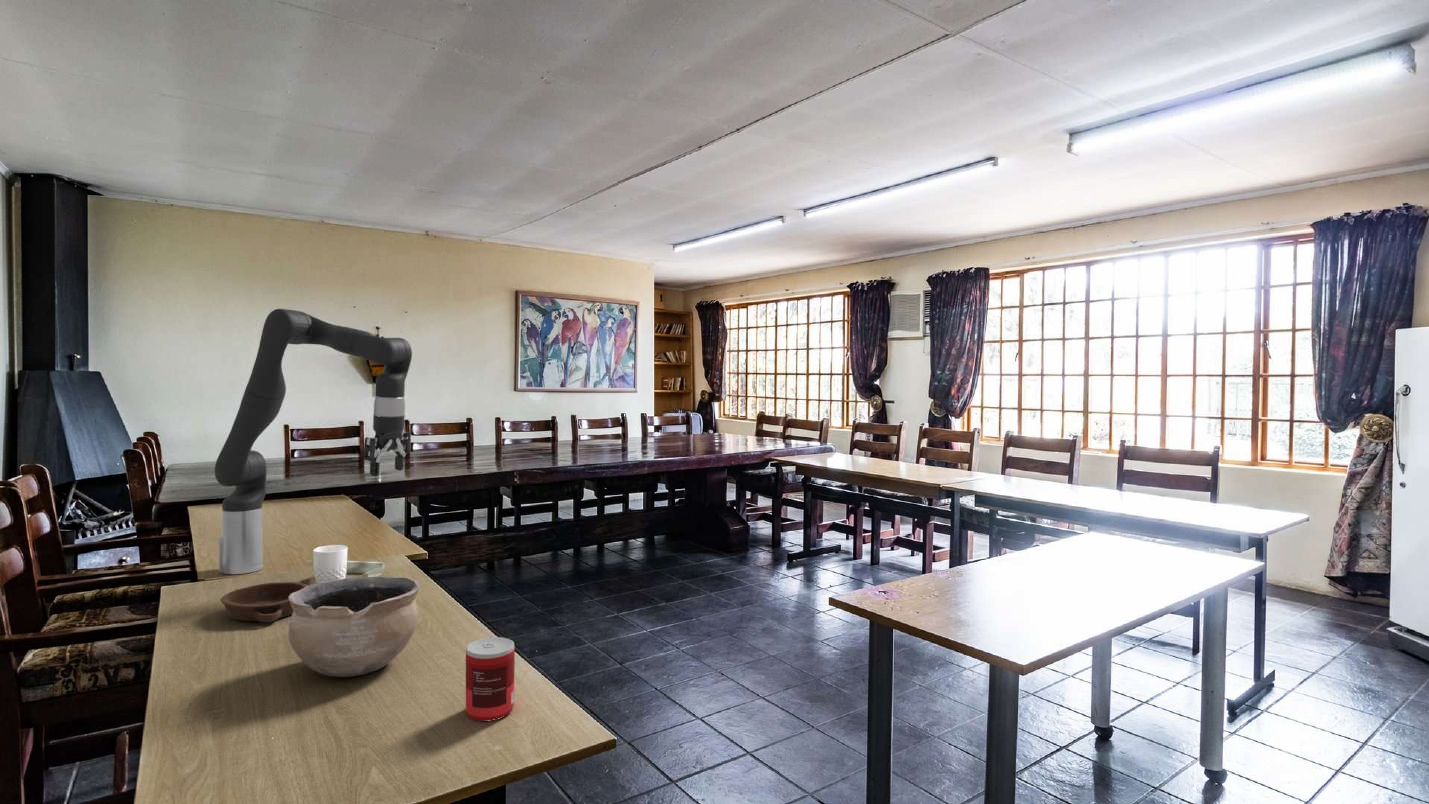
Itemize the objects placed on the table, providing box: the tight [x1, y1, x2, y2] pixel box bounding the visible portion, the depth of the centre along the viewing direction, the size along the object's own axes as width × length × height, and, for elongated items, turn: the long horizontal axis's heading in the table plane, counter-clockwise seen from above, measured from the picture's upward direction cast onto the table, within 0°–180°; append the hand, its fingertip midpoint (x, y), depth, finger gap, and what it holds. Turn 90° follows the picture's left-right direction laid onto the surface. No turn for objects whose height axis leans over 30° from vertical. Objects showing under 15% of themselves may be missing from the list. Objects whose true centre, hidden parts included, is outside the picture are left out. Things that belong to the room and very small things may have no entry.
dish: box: [220, 581, 308, 623], centre depth 163 cm, size 17×22×5 cm
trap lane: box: [295, 560, 385, 586], centre depth 186 cm, size 13×24×3 cm, turn 175°
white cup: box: [312, 544, 349, 585], centre depth 183 cm, size 8×8×10 cm
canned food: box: [465, 636, 516, 722], centre depth 117 cm, size 8×8×11 cm
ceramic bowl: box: [287, 576, 420, 678], centre depth 133 cm, size 22×22×15 cm
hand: (387, 472), depth 189 cm, fingers open, 8 cm apart
